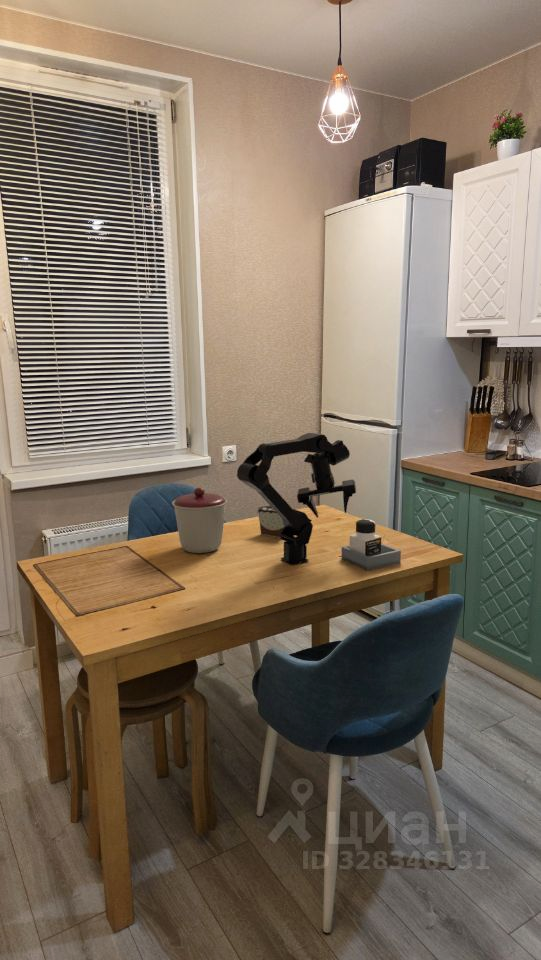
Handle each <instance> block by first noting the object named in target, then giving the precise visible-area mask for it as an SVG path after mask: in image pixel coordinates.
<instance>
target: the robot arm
mask: <svg viewBox="0 0 541 960" xmlns="http://www.w3.org/2000/svg"><path fill="white" fill-rule="evenodd" d="M303 452H305V453H307V455H306V457H305V458H304V460H303V461H304V463H306V464H310V465H311V470H312V473H311V482H312V483H313V484H315V488H316V489H310V486H309V487H302V488H299V489H297V494H296V499H297V504H302V505H303V506H305V505H306V507H308V508H309V510H310V511H311V512H312V513H313V515H314V516H315V517H316V518H317V519H318V518H319V512H318V510H317V507H316V504H315V501H314V498H313V497H315V496H323V495H328V494H333V493H339V492H342V496H343V497H342V499H343V500H342V501H343V510H344V513H345V514H346V513H347V511H348V503H349V500H350V498H352V497H353V495H354V494H356V493H357V487H356V481H355V480H354V479H348V480H342V481H341V482H342V483H341V485H335V483H336V482H335V478H334V476H333V472H332V469H331V466H336V465H338V464H340V463H342V462H344V461H346V460H349V458H350V455H351V454H350V450H349V448H348V446H347V445H345V444H344V441H343V440H340V439H338V440H336V441H334V442H333V443H331V442H330V441H329V440H328V437H327V435H325V434H322V433H316V432H307V433H305V434H302V435H300V436H299V437H297V438H294V439H287V440H281V441H274V442H269V443H268V442H267V443H263V442H262V443H260V444H259V445H258V446H257V448H256V449H255V450H254V451H253V452H252V453H251V454H250V455H248V456H247V457H246V458H245V460H244V461H243V462H242V463H241V464H240V465H239V466H238V468H237V473H236V477H237V479H238V480H239V481H240V482H241V483H243V484H245V485H246V486H248V487H249V488H250V489H252V490H255V491H256V492H257V493H258V494H259V495H260V496H261V498H262V499H263V500H264V501H265V502H266V503H267V504H268V506H271V507H272V508H273V509H274V510H275V512H276V513H277V514H278V515H279V516H280V517H281V518H282V520H283V525H284V526H285V527H284V528H283V530H282V531H281V533H280V534H279V536H280V540H281V541H283V557H280V560H281V561H284V562H285V563H287V564H289V565H291V566H293V565H297V564H302V563H307V562H309V559H308V558H307V557H308V556H307V555H308V554H307V552H308V550H307V545H308V544H309V542H310V540H311V536H312V533H313V528H314V525H313V523H312V519H310V517H308V515H307V514H306V512H304V511H301V510H297V509H295V508H292V506H291V505H290V504H289V503H288V502H287V500H285V499H284V498H283V497H282V495H281V494H280V493H279V492H278V491H277V490H276V488H274V487H273V485H272V484H271V483H270V477H269V476H268V474H267V473H268V472H269V471H270V469H271V465H272V461H273V459H274V458H275V457H279V456H280V457H281V456H287V455H290V454H291V455H292V454H297V453H303ZM310 453H311V454H310ZM313 453H314V454H313ZM258 463H259V464H258Z"/></svg>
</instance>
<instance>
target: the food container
mask: <svg viewBox="0 0 541 960" xmlns="http://www.w3.org/2000/svg"><path fill="white" fill-rule="evenodd" d="M256 513H257V514H258V521H259V530H260V531H259V532H260V535H261V534H263V535H262V536H266V535H269V536H268V537H272V536H275V537H274V538H278V537H280V536H279V534H280V533H281V531H282V530H283V528H284V527H285V526H284V525H283V520H282V518H281V517H280V516H279V515H278V514H277V513H276V512H275V510H274V509H273V508H272V507H271V506H270V505H261V506H258V507H257V510H256Z"/></svg>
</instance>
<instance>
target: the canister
mask: <svg viewBox="0 0 541 960" xmlns="http://www.w3.org/2000/svg"><path fill="white" fill-rule="evenodd" d="M227 503H228V500H227V498H225V497H224V496H222V495H219V494H216V493H208V492H206V491H205V489H204V488H203V487H196V488H195V489H193V493H187V494H184V495H181V496H180V495H179V496H178V497H177V498H176V499H174V500H173V501H172V502H171V504H172V507H174V515H175V519H176V525H177V531H178V532H177V533H178V537H179V543H180V546H181V548H182V549H183V550H185V551H186V552H189V553H192V554H207V553H211V552H215V551H216V550H218V549H220V546H221V544H222V540H223V533H224V523H225V510H226V504H227Z"/></svg>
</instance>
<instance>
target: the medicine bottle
mask: <svg viewBox="0 0 541 960" xmlns="http://www.w3.org/2000/svg"><path fill="white" fill-rule="evenodd" d="M381 543H382V536H381V535H378V534H376V522H375V521H374V520H372V519H366V518H364V519H363V518H362V519H359V520H357V521H356V522H355V534H351V535H349V545H350V549H352V550H354V551H356V552H359V553H361V554H363V555H366V556H368V557H369V556H374V555H378V554H381Z"/></svg>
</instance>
